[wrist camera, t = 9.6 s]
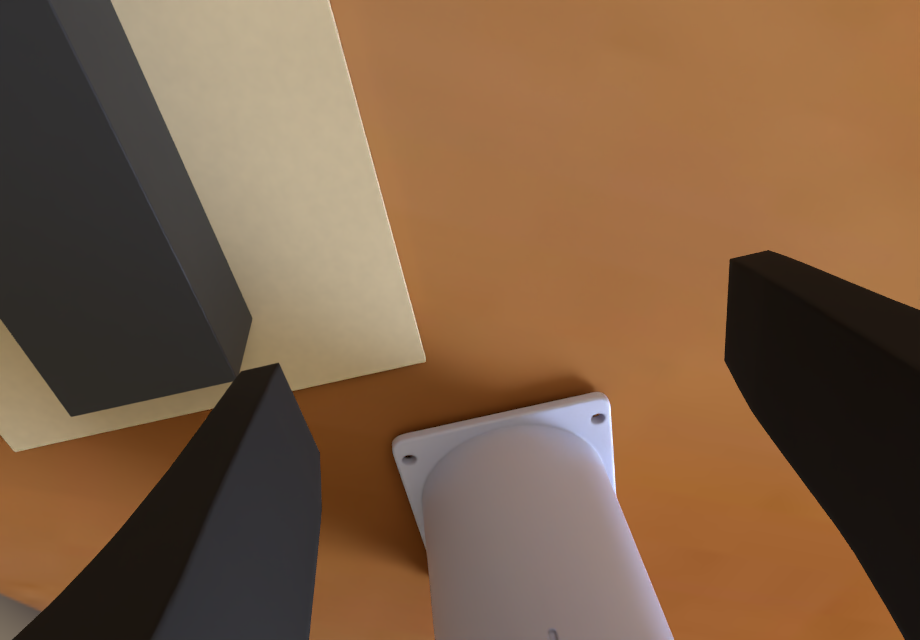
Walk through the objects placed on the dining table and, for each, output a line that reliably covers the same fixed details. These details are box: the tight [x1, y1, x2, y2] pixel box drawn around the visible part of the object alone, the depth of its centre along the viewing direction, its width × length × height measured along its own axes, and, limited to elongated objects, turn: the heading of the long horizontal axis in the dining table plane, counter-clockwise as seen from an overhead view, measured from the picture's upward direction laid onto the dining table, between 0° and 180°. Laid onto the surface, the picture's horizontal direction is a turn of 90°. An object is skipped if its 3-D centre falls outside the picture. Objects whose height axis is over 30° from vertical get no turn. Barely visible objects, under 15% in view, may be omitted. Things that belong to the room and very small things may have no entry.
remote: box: [0, 0, 252, 417], centre depth 14 cm, size 16×5×3 cm, turn 10°
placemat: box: [0, 0, 426, 452], centre depth 16 cm, size 22×14×1 cm, turn 10°
